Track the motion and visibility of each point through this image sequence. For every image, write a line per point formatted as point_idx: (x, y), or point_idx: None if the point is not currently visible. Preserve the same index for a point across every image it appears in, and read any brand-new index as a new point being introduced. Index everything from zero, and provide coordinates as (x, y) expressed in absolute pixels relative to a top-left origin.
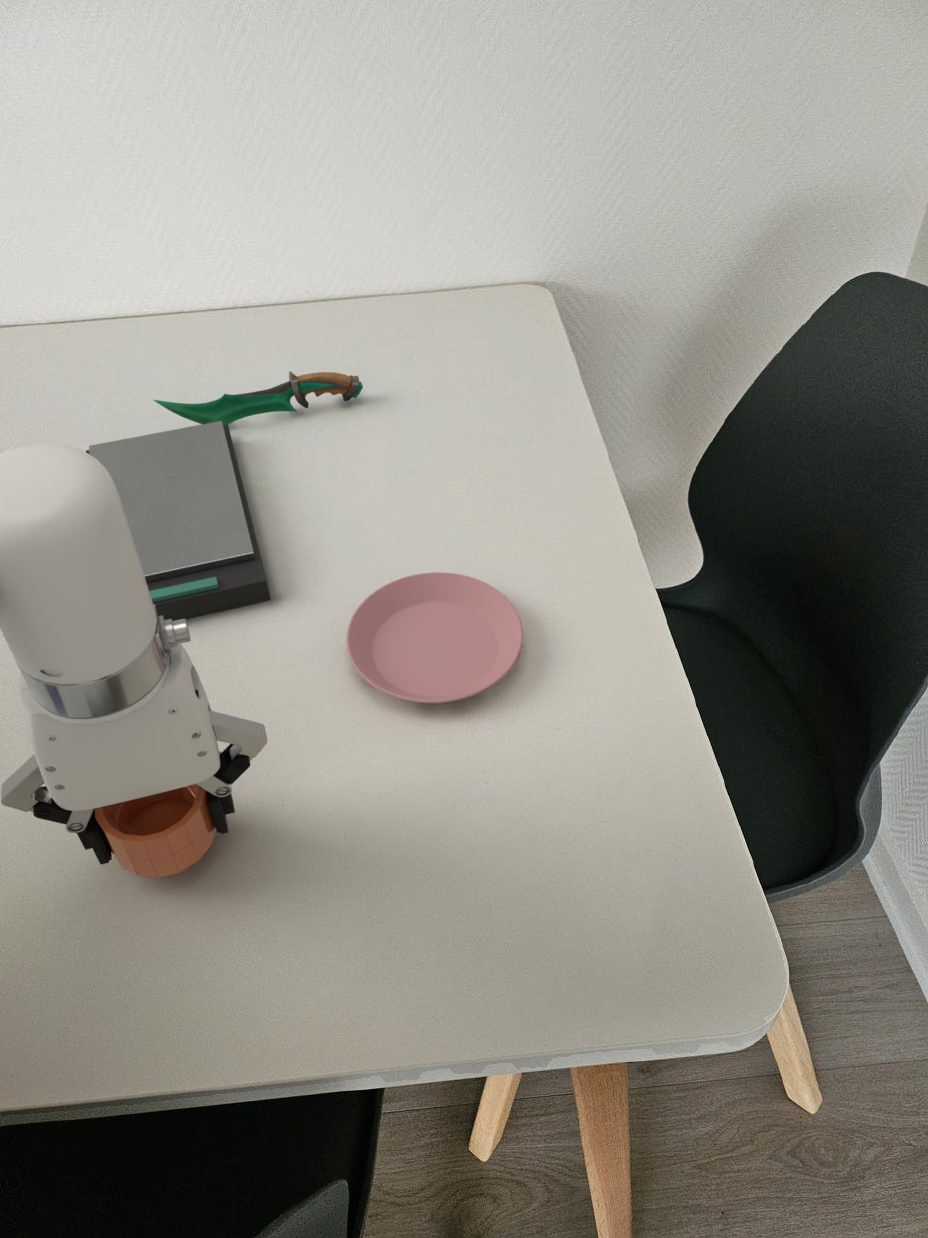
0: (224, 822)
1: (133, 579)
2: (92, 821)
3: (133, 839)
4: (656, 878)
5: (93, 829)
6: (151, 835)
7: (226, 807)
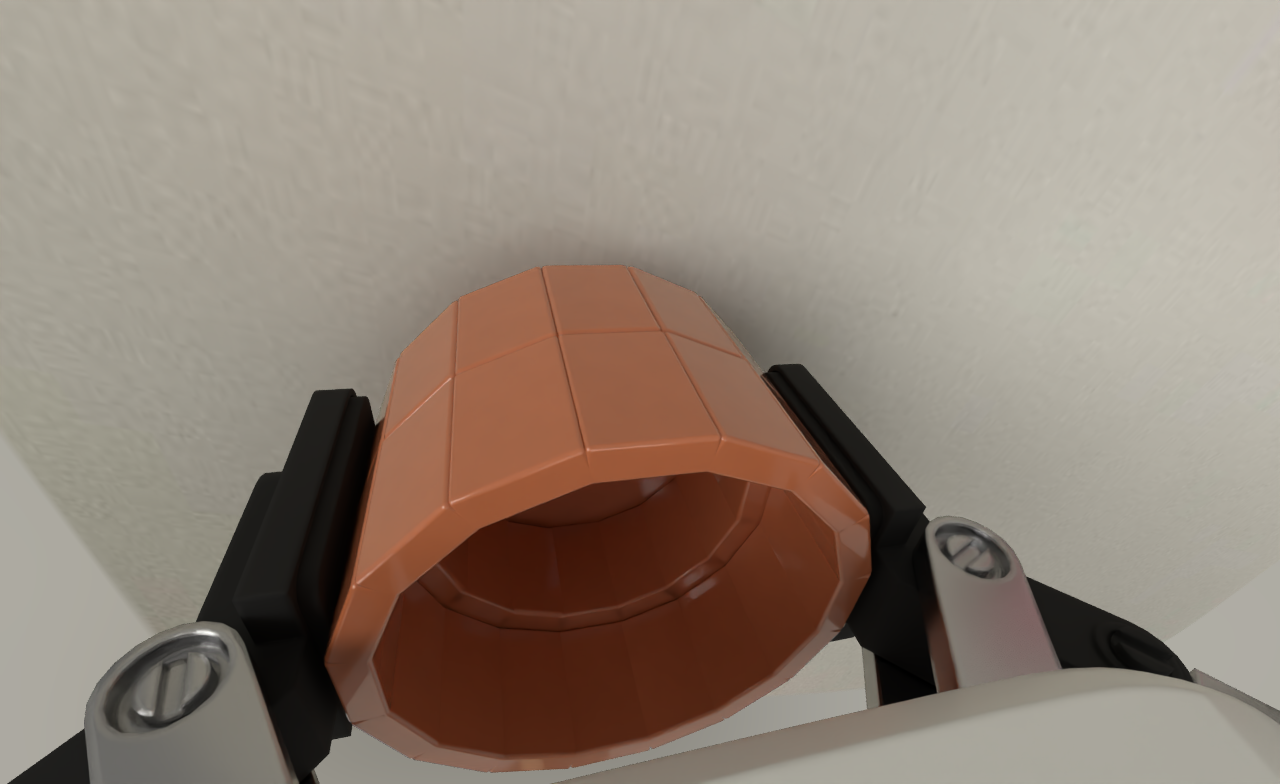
0: None
1: None
2: (336, 713)
3: (535, 768)
4: (1209, 559)
5: (347, 725)
6: (604, 754)
7: None
